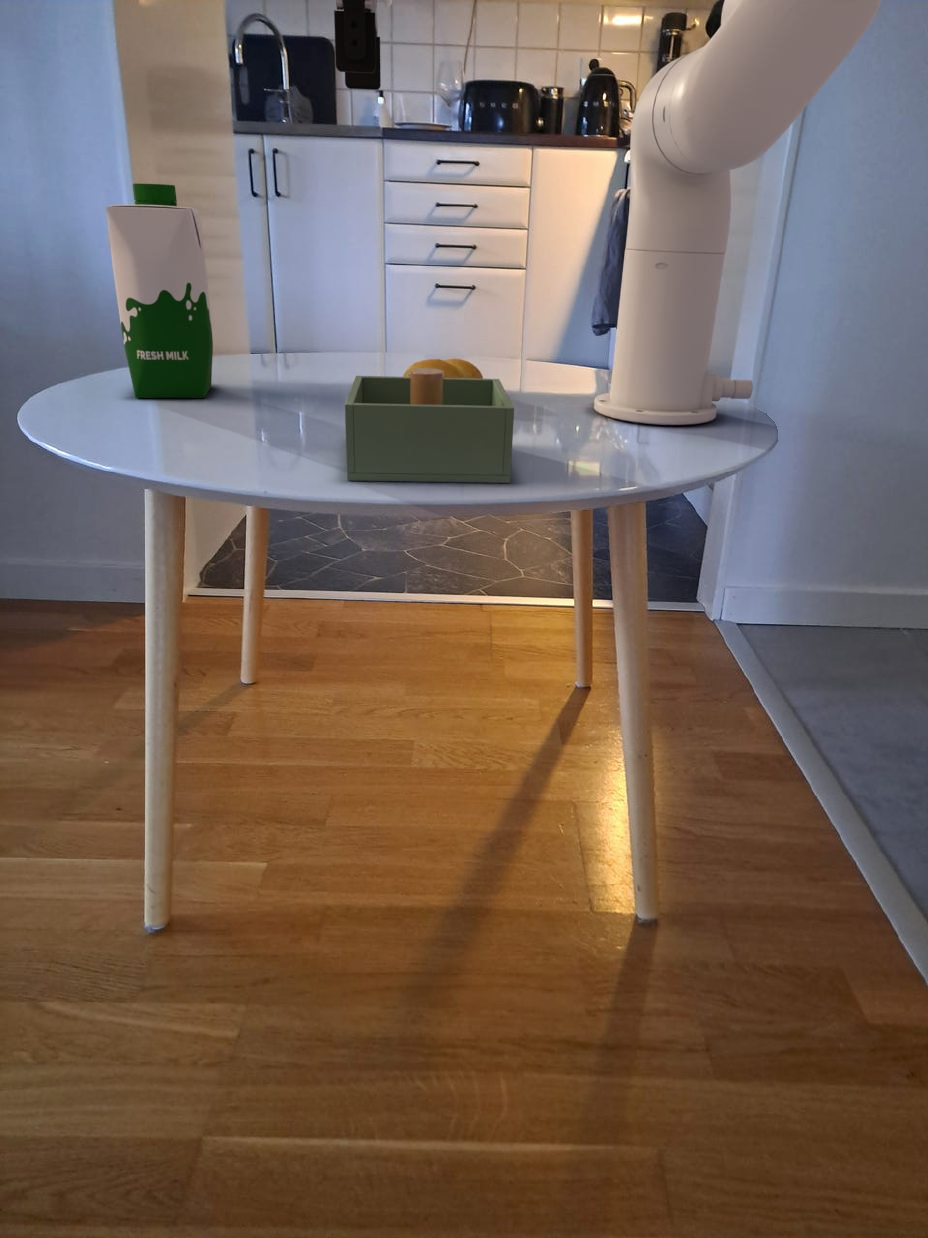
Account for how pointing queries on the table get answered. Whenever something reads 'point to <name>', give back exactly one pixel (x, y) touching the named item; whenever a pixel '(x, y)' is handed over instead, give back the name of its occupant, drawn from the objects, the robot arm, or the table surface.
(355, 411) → the tub
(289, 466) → the table surface
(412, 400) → the wooden peg stand
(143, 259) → the milk carton
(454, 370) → the bread roll
